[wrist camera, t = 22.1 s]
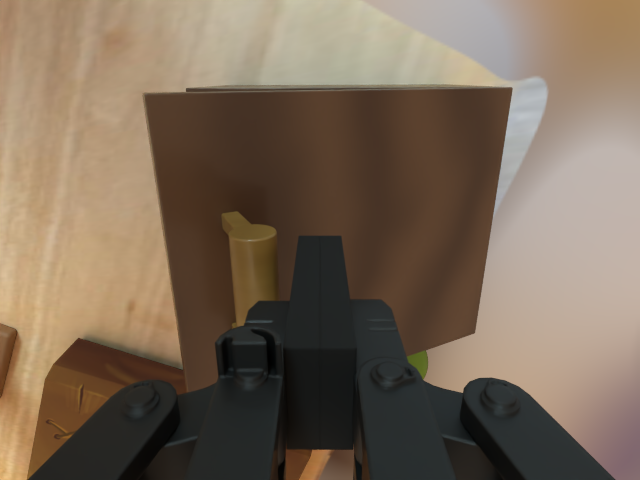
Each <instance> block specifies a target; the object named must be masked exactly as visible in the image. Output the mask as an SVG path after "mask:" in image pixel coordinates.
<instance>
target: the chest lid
mask: <svg viewBox="0 0 640 480" xmlns="http://www.w3.org/2000/svg"><path fill="white" fill-rule="evenodd" d="M511 96H512V87H478V88H415V89H351V90H288V91H225V92H162V93H143V102H144V108H145V115H146V122H147V129H148V135H149V142H150V149H151V155H152V162H153V169H154V175H155V182H156V189H157V196H158V202H159V209H160V216H161V222H162V229H163V236H164V242H165V249H166V256H167V263H168V269H169V276H170V283H171V289H172V296H173V303H174V309H175V316H176V323H177V330H178V336H179V343H180V350H181V356H182V363H183V370H184V376H185V383H186V390H187V392H192V391H196V390H199V389H203V388H206V387H208V386H210V385H212V384H214V383H216V382H217V379H218V369H217V359H216V350H215V342H216V340H217V339H218V338H219V336H220V335H222V334H223V333H225V332H226V331H228V330H230V329H233V328H236V327H239V326H244V323H245V320H246V316H247V313H248V310H249V309H250V308H251V307H252V306H253V305H254V304H256V303H257V302H258V301H290V294H291V287H292V280H293V273H294V265H295V258H296V251H297V244H298V237H299V236H341V237H342V244H343V251H344V258H345V265H346V273H347V280H348V287H349V294H350V299H382V300H383V301H384V302H385V303H386V304H387V305H388V306H389V307H390V308H391V309H392V312H393V315H394V318H395V322H396V324H397V327H398V331H399V334H400V337H401V340H402V343H403V346H404V350H405V353H406V356H410V355H413V354H416V353H419V352H422V351H425V350H428V349H430V348H433V347H436V346H439V345H442V344H445V343H448V342H451V341H454V340H457V339H460V338H462V337H465V336H468V335H471V334H474V333H475V329H476V322H477V316H478V310H479V303H480V297H481V290H482V284H483V277H484V271H485V264H486V258H487V251H488V245H489V238H490V232H491V225H492V219H493V212H494V206H495V199H496V193H497V186H498V180H499V173H500V167H501V160H502V154H503V147H504V141H505V134H506V128H507V122H508V115H509V109H510V102H511Z"/></svg>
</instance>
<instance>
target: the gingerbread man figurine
mask: <svg viewBox="0 0 640 480" xmlns="http://www.w3.org/2000/svg"><path fill="white" fill-rule="evenodd" d="M16 334H17V331H16V330H15V329H14V328H11V327H8V326H5V325H2V324H0V397H1V395H2V391H3V387H4V383H5V379H6V375H7V371H8V367H9V363H10V359H11V354H12V350H13V346H14V342H15V338H16Z"/></svg>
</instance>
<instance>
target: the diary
mask: <svg viewBox="0 0 640 480" xmlns="http://www.w3.org/2000/svg"><path fill="white" fill-rule="evenodd" d="M144 380H163V381H166V382H168V383H171V384H172V386H173V387H174V388H175V389H176V391H177V395H179V394H183V393H187V390H186V383H185V376H184V370H181V369H177V368H174V367H171V366H168V365H164V364H161V363H158V362H155V361H151V360H148V359H145V358H142V357H138V356H135V355H132V354H129V353H125V352H122V351H119V350H116V349H112V348H109V347H106V346H103V345H100V344H96V343H93V342H90V341H87V340H83V339H80V338H78V339H77V340H76V341H75V342H74V343H73V344H72V345H71V346H70V347H69V348H68V349H67V351H66V352H65V353H64V354H63V355H62V356H61V357H60V358H59V359H58V360H57V361H56V362H55V363H54V364H53V366H52V368H51V370H50V371H49V373H48V375H47V377H46V379H45V383H44V388H43V394H42V399H41V405H40V410H39V416H38V421H37V427H36V432H35V438H34V443H33V449H32V454H31V460H30V465H29V471H28V476H27V480H28V479H29V478H30V477H31V476H32V475H33V474H34V473H35V472H36V471H37V470H38V469H39V468H40V467H41V466H42V465H43V464H44V463H45V462H46V461H47V460H48V459H49V458H50V457H51V456H52V455H53V454H54V453H55V452H56V451H57V450H58V449H59V448H60V447H61V446H62V445H63V444H64V443H65V442H66V441H67V440H68V439H69V438H70V437H71V436H72V435H73V434H74V433H75V432H76V431H77V430H78V429H79V428H80V427H81V426H82V425H83V424H84V423H85V422H86V421H87V420H88V419H89V418H90V417H91V416H92V415H93V414H94V413H95V412H96V411H97V410H98V409H99V408H100V407H101V406H102V405H103V404H104V403H105V402H106V401H107V400H108V399H109V398H110V397H111V396H112V395H114V394H115V393H116V392H118V391H119V390H120V389H122V388H124V387H126V386H128V385H130V384H133V383H135V382H139V381H144ZM311 451H312V450H287V444H286V480H299V478H300V476H301V474H302V472H303V470H304V468H305V466H306V464H307V462H308V460H309V458H310V456H311Z"/></svg>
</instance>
